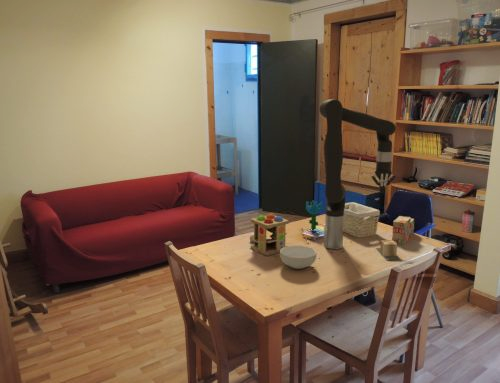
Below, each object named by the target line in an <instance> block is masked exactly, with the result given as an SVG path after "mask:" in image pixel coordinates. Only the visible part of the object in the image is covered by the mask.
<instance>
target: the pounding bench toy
mask: <svg viewBox="0 0 500 383" xmlns="http://www.w3.org/2000/svg"><path fill="white" fill-rule="evenodd" d="M250 222H251V223H253V234H251V235H250V236H249V241H250V242H251V243H253V244H250V249H252V250H254V251H256V252H257V253H258V252H259V253H260V254H262V255H264V256H266V257H267V256H272V255H276V254H280V250H281V249H282V248H284V247H287V245H286V235H287V233H288V232H286V225H287V224H289V222H290V220H288V219H285V218H283V217H282V216H280V215H278V216H277V215H275V214H274V213H268V214H267V215H263V214H260V215H258V216H257V217H252V218H251V219H250ZM267 232H269V233H271V235H269V237H270V238H267Z"/></svg>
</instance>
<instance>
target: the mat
mask: <svg viewBox="0 0 500 383" xmlns="http://www.w3.org/2000/svg"><path fill="white" fill-rule="evenodd" d="M375 250H377V252H378V253H379V254H380V255H381V256H382V257H383V258H384V259H385V260H386V261H387V262H391V261H393V262H394V261H395V262H397V261H399V262H400V261H401V262H402V261H403V260H402V259H401V258H400V257H399V255H396V256H384V255H383V254H382V253H381V252H380V247H376V248H375Z"/></svg>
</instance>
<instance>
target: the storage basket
mask: <svg viewBox="0 0 500 383" xmlns="http://www.w3.org/2000/svg"><path fill="white" fill-rule="evenodd" d="M380 215H381V211H380V210H379V209H376V208H373V207H371V206H367V205H363V204H360V203H357V202H354V201H353V202H345V209H344V222H343V233H346V234H348V235H351V236H353V237H355V238H364V237H368V236H374V235H376V234H377V231H378V224H379V218H380Z"/></svg>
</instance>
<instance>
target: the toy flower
mask: <svg viewBox="0 0 500 383" xmlns="http://www.w3.org/2000/svg"><path fill="white" fill-rule="evenodd" d="M305 210H306V211H307V212H308V214H311V219H310V220H308V223H309V224H311V225H310V226H311V227H310V228H311V229H312V230H314V229H317V227H316V226H319V222H318V221H317V215H318V214H319V213H320V212H321V211H322V210H323V203H322V202H319V203H318V202H317V201H315V200H314V199H313V200H312V201H310V202H309V201H306V202H305ZM311 229H310V230H311Z"/></svg>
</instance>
